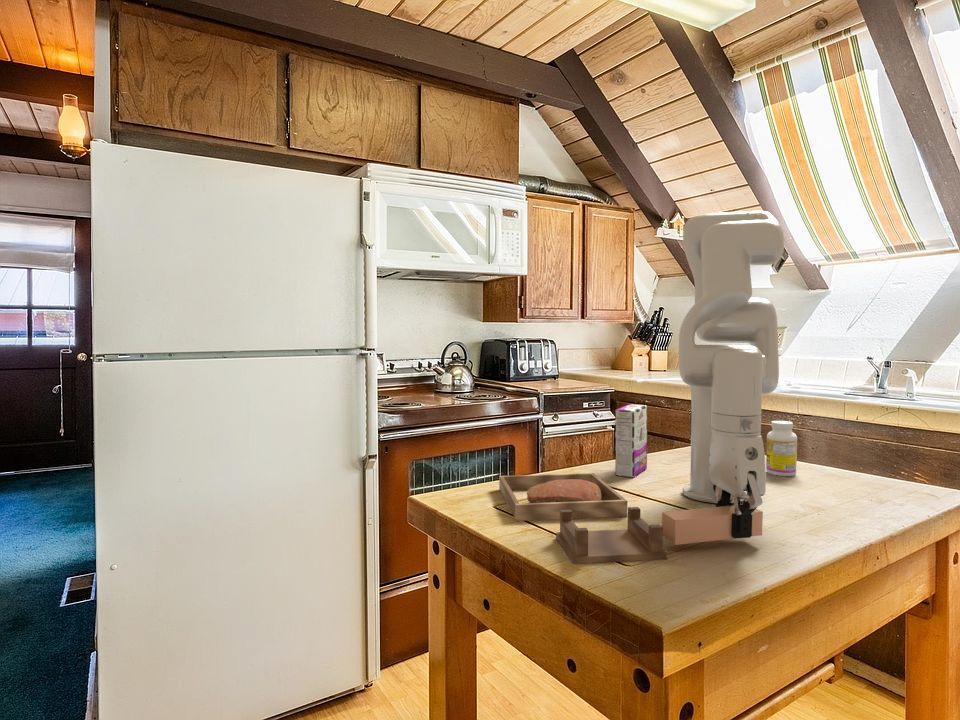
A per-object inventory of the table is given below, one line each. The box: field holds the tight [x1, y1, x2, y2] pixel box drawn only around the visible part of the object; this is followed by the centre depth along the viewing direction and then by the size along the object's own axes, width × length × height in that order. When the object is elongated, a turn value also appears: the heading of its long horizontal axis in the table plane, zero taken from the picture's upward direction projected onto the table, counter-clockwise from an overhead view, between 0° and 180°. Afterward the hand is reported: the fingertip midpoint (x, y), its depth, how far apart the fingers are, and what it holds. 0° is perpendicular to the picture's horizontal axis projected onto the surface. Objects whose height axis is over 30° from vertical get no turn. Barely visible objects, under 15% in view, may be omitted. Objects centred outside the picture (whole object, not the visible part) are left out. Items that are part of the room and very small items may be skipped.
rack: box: [555, 506, 668, 565], centre depth 96 cm, size 15×11×5 cm
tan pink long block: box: [661, 505, 764, 546], centre depth 97 cm, size 16×4×4 cm, turn 103°
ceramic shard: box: [526, 479, 602, 503], centre depth 121 cm, size 15×6×15 cm
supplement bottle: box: [765, 420, 798, 477], centre depth 144 cm, size 7×7×13 cm
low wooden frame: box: [498, 472, 628, 522], centre depth 122 cm, size 22×22×3 cm
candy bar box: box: [614, 403, 648, 479], centre depth 146 cm, size 11×5×16 cm, turn 148°
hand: (733, 530), depth 98 cm, fingers closed on tan pink long block, 4 cm apart
